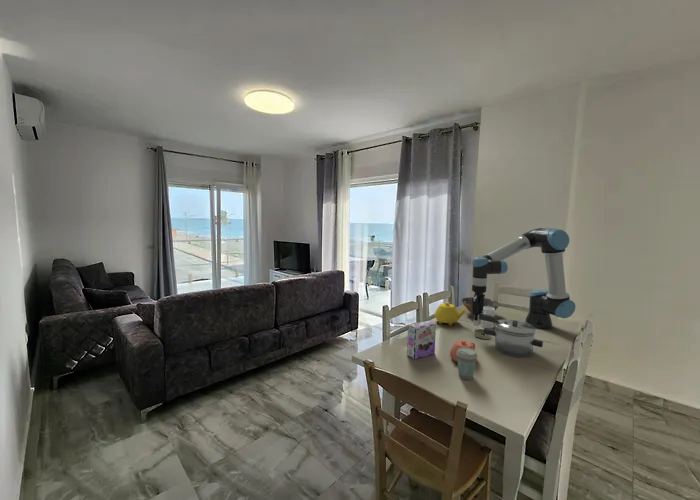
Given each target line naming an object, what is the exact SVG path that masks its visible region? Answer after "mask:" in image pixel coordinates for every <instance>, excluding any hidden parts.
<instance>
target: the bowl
mask: <svg viewBox="0 0 700 500" xmlns="http://www.w3.org/2000/svg"><path fill="white" fill-rule="evenodd" d="M472 298H474V296H472V297H471V296H470V297H468V296H467V297H463V298H461V300H460V301H461V303H462V304H463V306H464V307H465V308H466V310H468V312H469V313H470V314H471V312H472V307H473V302H472ZM484 306H488V307H493V308H495V311H496V310H497V309H498V308H499V306H500V302H498V301H496V300H492V299H490V298H485V297H484Z"/></svg>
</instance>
